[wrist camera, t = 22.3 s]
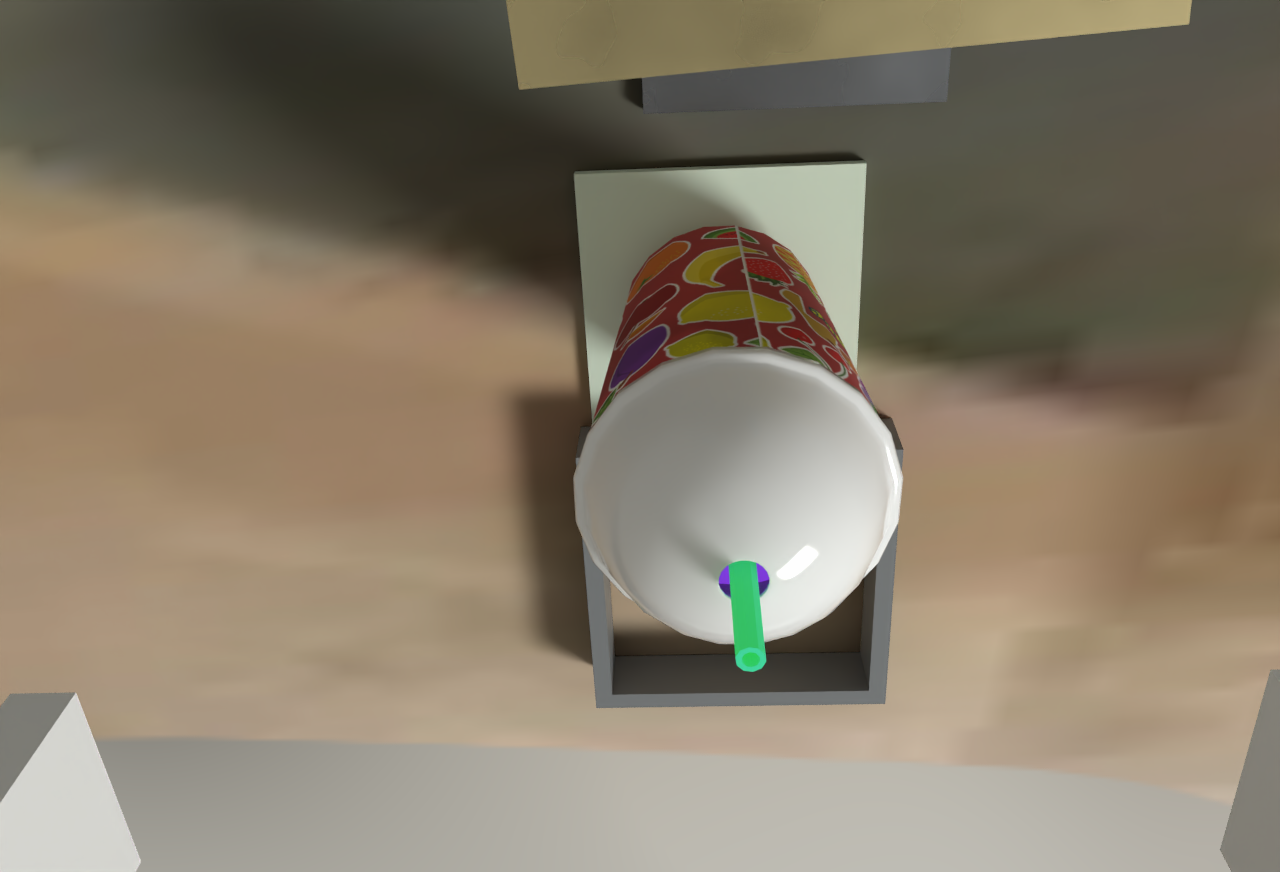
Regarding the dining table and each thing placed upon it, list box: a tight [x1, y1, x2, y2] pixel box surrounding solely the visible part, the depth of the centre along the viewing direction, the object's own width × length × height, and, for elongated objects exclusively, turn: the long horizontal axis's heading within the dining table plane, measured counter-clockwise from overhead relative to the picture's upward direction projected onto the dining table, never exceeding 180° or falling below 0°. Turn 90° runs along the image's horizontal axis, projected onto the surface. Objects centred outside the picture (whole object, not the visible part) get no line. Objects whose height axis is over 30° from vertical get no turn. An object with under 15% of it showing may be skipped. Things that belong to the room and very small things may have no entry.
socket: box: [576, 418, 903, 708], centre depth 45 cm, size 12×12×2 cm
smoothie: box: [573, 225, 903, 672], centre depth 32 cm, size 8×8×20 cm
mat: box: [574, 160, 866, 422], centre depth 41 cm, size 10×10×1 cm
